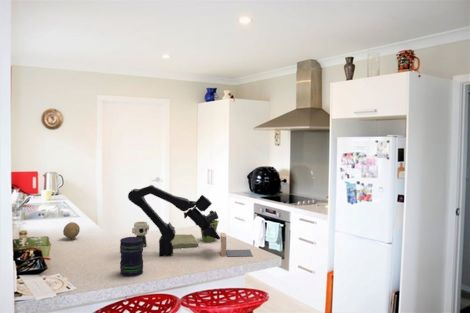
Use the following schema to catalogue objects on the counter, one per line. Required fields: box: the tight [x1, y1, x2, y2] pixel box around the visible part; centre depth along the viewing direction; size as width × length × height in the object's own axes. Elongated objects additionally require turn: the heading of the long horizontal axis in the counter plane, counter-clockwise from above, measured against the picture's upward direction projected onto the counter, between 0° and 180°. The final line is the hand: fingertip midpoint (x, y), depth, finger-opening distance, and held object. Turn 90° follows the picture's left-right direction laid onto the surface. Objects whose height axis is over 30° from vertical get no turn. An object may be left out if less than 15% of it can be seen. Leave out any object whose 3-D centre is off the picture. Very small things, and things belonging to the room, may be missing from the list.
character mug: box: [131, 221, 150, 247], centre depth 217 cm, size 11×7×13 cm, turn 139°
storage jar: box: [119, 236, 144, 278], centre depth 175 cm, size 10×10×15 cm
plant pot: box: [200, 219, 220, 243], centre depth 230 cm, size 12×12×11 cm
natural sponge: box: [62, 221, 81, 240], centre depth 230 cm, size 9×9×10 cm
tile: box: [220, 232, 227, 257], centre depth 205 cm, size 2×8×10 cm, turn 5°
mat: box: [226, 249, 254, 258], centre depth 206 cm, size 13×11×1 cm
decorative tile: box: [171, 233, 199, 250], centre depth 223 cm, size 19×20×4 cm
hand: (219, 238), depth 204 cm, fingers closed
